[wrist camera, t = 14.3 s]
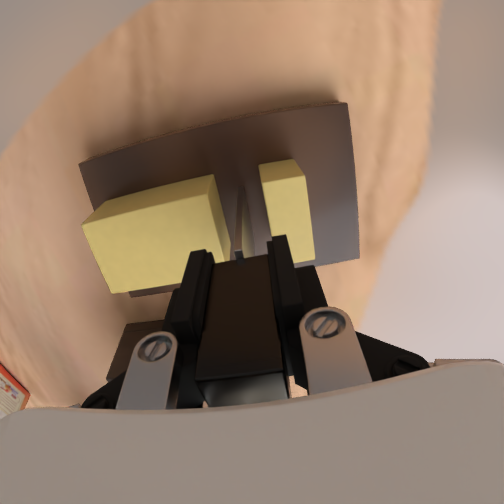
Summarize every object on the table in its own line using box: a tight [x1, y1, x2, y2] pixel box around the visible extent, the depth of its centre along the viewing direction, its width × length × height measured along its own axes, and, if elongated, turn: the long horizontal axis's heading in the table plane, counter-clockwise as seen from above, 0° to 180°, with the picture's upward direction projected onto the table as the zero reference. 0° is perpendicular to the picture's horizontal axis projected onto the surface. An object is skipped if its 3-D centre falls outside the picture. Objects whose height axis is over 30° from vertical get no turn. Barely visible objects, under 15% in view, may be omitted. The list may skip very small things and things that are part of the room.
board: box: [79, 102, 360, 298], centre depth 19 cm, size 16×10×2 cm, turn 101°
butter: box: [81, 174, 231, 294], centre depth 17 cm, size 7×4×4 cm, turn 101°
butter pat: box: [258, 159, 315, 263], centre depth 17 cm, size 2×4×4 cm, turn 11°
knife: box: [194, 187, 292, 408], centre depth 12 cm, size 2×3×12 cm, turn 11°
